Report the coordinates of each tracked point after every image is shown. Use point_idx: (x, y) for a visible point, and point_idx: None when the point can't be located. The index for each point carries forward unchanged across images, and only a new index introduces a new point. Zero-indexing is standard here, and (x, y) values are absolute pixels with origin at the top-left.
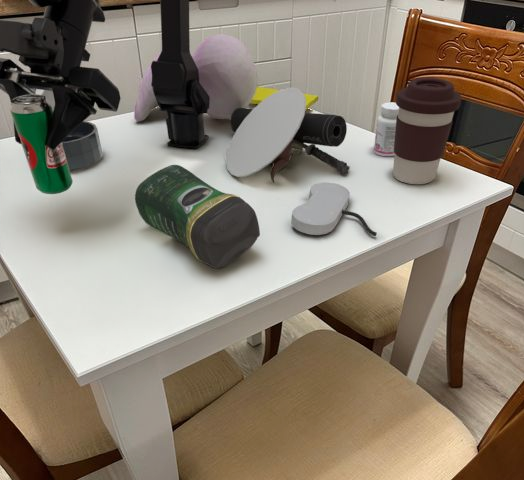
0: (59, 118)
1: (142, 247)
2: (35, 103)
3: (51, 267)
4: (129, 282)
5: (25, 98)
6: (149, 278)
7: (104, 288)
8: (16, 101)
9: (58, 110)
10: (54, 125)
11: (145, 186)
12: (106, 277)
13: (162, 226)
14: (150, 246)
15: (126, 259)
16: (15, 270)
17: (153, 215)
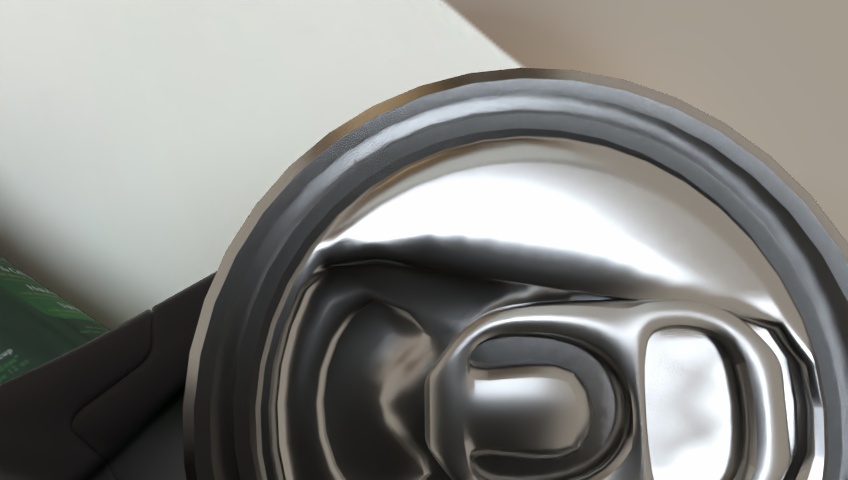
0: (115, 332)
1: (151, 248)
2: (260, 211)
3: (391, 82)
4: (128, 60)
5: (632, 458)
6: (78, 90)
7: (188, 20)
8: (698, 227)
9: (64, 393)
10: (211, 282)
11: (1, 383)
12: (203, 69)
13: (26, 275)
14: (127, 259)
15: (178, 170)
16: (493, 45)
17: (33, 290)
